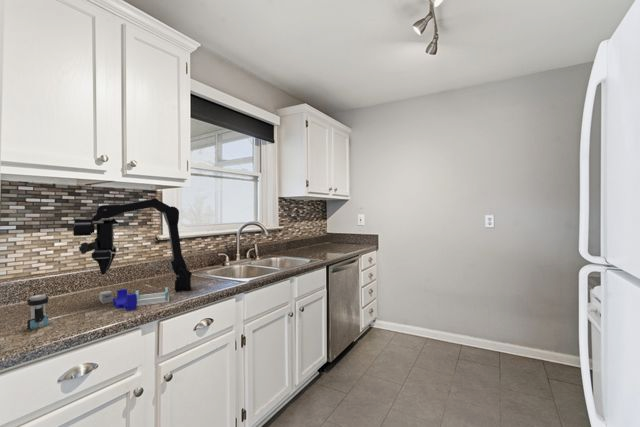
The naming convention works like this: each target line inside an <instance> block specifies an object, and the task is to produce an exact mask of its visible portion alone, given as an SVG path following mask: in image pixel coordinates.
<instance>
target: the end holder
mask: <svg viewBox="0 0 640 427" xmlns="http://www.w3.org/2000/svg"><path fill="white" fill-rule="evenodd" d="M134 293H136V298H137V307H139V306H148V305H149V306H150V305H155V304H164V303H170V294H169V287H168V286H167V287H165V289H164V292H163V291H162V292H155V293H148V294H146V293H145V294H140V290H139V289H138V290H137V289H136V291H135V292H134Z"/></svg>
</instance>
